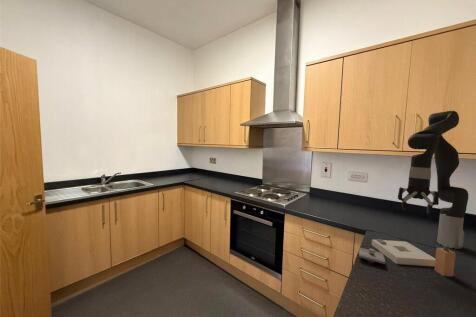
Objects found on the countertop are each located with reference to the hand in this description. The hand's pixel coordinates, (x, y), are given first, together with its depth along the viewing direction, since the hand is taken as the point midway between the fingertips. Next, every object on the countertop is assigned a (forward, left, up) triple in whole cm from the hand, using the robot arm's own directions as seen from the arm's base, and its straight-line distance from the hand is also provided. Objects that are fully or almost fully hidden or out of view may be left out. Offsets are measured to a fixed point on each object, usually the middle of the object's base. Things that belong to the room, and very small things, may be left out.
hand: (416, 211), depth 95 cm
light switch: (+21, +3, -24) cm, 32 cm away
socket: (+2, -4, -23) cm, 24 cm away
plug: (-5, +10, -23) cm, 26 cm away
